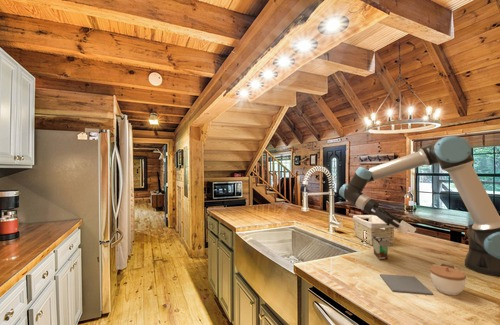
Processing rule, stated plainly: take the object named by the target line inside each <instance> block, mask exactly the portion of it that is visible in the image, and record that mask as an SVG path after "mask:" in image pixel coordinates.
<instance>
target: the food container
mask: <svg viewBox="0 0 500 325" xmlns="http://www.w3.org/2000/svg"><path fill="white" fill-rule="evenodd" d="M388 245H389V241H388V239H387V238H385V237H381V236H374V235H373V255H374V256H375V257H376V258H377V259H378V261H386V260H388V253H389V252H388V249H389V246H388Z"/></svg>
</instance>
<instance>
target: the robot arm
mask: <svg viewBox="0 0 500 325" xmlns="http://www.w3.org/2000/svg"><path fill="white" fill-rule="evenodd" d="M474 162H475V159H474V157H473V155H472V146H471V144H470V143H469V141H468V140H467V139H466V138H463V137H461V136H458V135H448V136H446V137H445V136H444V137H442V138H440V139H437V140H436V141H434V142H433V143H431V144H429V145H427V146H424V147H421V148H419V150H418V151H416V152H412V153H410V154H406V155H404V156H401V157H398V158H395V159H392V160H389V161H386V162H383V163H381V164H378V165H374V166H372V167H368V168H365V167H363V166H359V167H358V168H357V169H356V170H355V173H354V174H353V176H352V178H351V179H350V180H349V182H348V184H347V183H344V184H343V185H342V186H341V187H340V188H339V191H338V195H339V196H340V197H341V198H343V199H344V200H346V201H348V202H349V203H351V204H353V205H354V206H356V207H357V209H358V210H359V209H360V210H362V211H363V212H365V213H366V214H367V215H374V216H377V217H378V218H380V219H381V220H382V221H384V222H385V223H387V224H386V225H388V226H389V225H391V226H393V227H394V229H395V230H397V231H399V232H401V233H402V234H404V235H406V234H407V233H408V232H410V233H411V234H414V233H415V232H416V231H417V228H416V227H414V226H413V225H411V224H410V223H408V222H406V221H405V220H404V218H402V217H401V218H400V217H399V216H397V215H394V214H392V213H391V212H389V211H388V210H386V209H384V208H382V207H379V206H380V203H379V201H377V200H376V199H373V198H372V197H370V196H369V195H366V193H363V191H364V189H365V187H366V186H367V184H368V183H372V182H375V181H378V180H380V179H384V178H387V177H390V176H393V175H396V174H400V173H403V172H406V171H410V170H413V169H416V168H420V167H423V166H427V167H429V166H432V165H433V166H434V165H439V166H440V168H441V170H442V171H445V172H446V173H448V175H449V176H450V178H451V180H452V183H453V184H454V186H455V188H456V191H457V192H458V194H459V196H460V198H461V201H462V202H463V203H464V206H465V208H466V209H467V211H468V213H469V215H470V217H471V219H469V220H468V221H467V223H468V224H467V229H468V230H467V231H468V251H467V254H466V256H465V259H464V267H466V268H467V269H469V270H472V271H473V272H477V273H480V274H484V275H488V276H493V277H500V215H499V213H498V211H497V208H496V207H495V205H494V203H493V202H492V200H491V198H490V196H489V194H488V193H487V190H486V189H485V186H484V185H483V183H482V181H481V179H480V178H479V176H478V174H477V172H476V170H475V168H474V167H473V163H474Z"/></svg>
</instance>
